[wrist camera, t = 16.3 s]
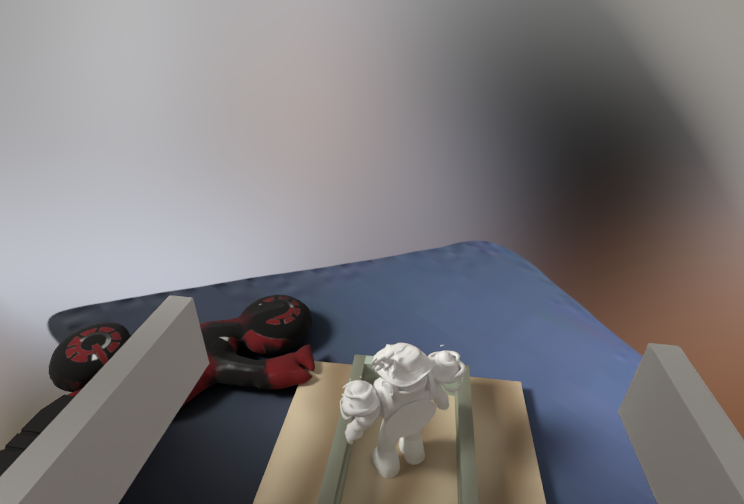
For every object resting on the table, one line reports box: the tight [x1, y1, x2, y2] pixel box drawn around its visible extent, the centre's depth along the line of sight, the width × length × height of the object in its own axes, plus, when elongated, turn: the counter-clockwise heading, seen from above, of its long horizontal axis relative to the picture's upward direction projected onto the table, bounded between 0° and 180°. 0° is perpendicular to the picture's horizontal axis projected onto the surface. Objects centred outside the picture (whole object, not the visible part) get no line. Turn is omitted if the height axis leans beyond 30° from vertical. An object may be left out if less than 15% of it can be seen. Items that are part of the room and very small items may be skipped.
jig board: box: [253, 355, 546, 504], centre depth 32 cm, size 20×18×4 cm
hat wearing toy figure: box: [340, 343, 467, 479], centre depth 29 cm, size 9×4×12 cm, turn 115°
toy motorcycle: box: [49, 295, 315, 406], centre depth 40 cm, size 25×5×16 cm
